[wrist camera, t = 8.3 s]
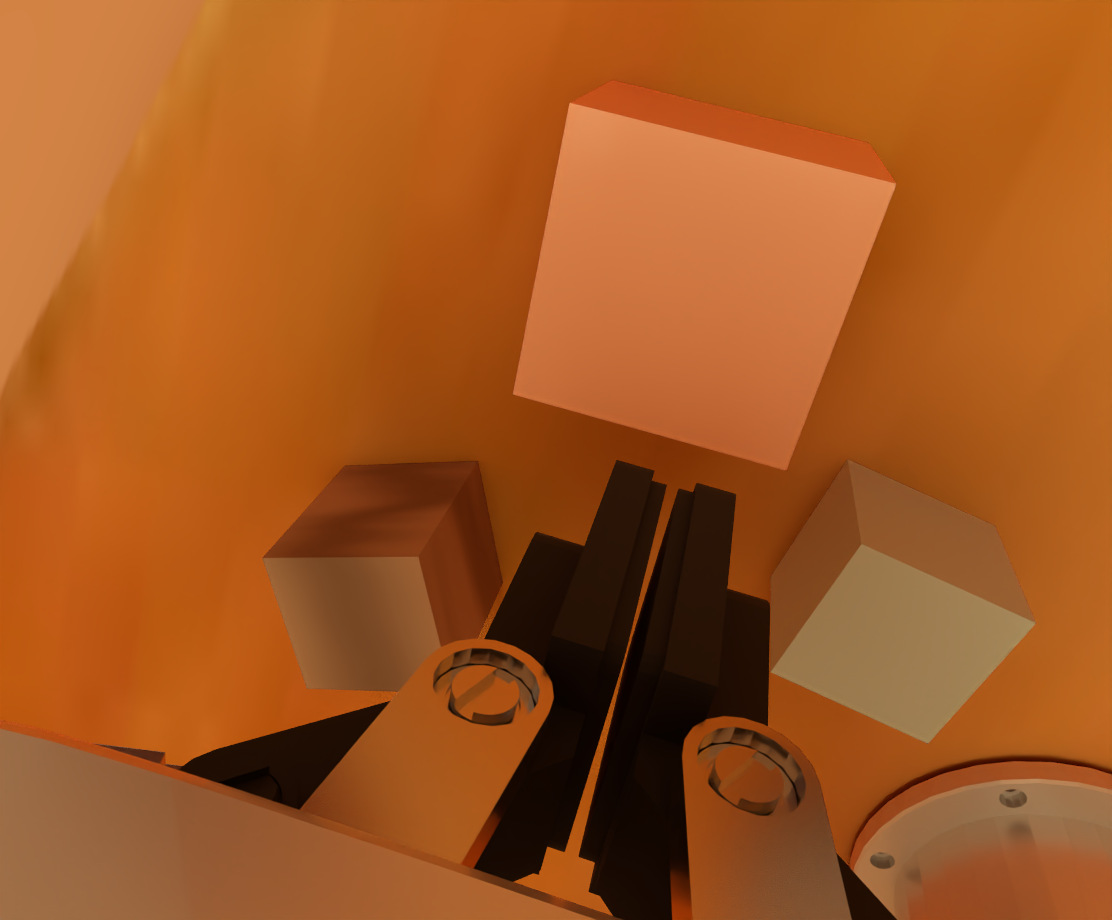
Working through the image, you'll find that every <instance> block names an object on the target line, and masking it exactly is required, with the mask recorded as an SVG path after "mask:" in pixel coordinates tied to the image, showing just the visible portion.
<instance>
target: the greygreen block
mask: <svg viewBox="0 0 1112 920" xmlns="http://www.w3.org/2000/svg"><path fill="white" fill-rule="evenodd" d="M1035 624H1036V622H1035V619H1034V617H1033V615H1032V612H1031V610H1030V608H1029V605H1028V603H1027V600H1026V598H1025V596H1024V593H1023V591H1022V589H1021V586H1020V584H1019V581H1018V579H1017V577H1016V574H1015V572H1014V570H1013V567H1012V565H1011V562H1010V560H1009V558H1008V555H1007V553H1006V551H1005V548H1004V546H1003V543H1002V541H1001V539H1000V536H999V534H998V532H997V529H996V527H995V526H994V525H992V524H990V523H988V522H985V521H983V520H981V519H979V518H977V517H974V516H972V515H970V514H968V513H966V512H963V511H961V510H959V509H957V508H955V507H952V506H950V505H948V504H946V503H944V502H941V501H939V500H937V499H935V498H933V497H930V496H928V495H926V494H924V493H921V492H919V491H917V490H915V489H913V488H910V487H908V486H906V485H904V484H902V483H899V482H897V481H895V480H893V479H891V478H888V477H886V476H884V475H882V474H880V473H877V472H875V471H873V470H871V469H868V468H866V467H864V466H862V465H860V464H857V463H855V462H853V461H851V460H849V459H847V461H846V462H845V464H844V465H843V467H842V469H841V470H840V472H839V473H838V475H837V476H836V478H835V479H834V481H833V482H832V484H831V485H830V487H829V488H828V490H827V491H826V493H825V494H824V496H823V497H822V499H821V500H820V502H819V503H818V505H817V507H816V508H815V510H814V511H813V513H812V514H811V516H810V517H809V519H808V520H807V522H806V523H805V525H804V526H803V528H802V529H801V531H800V532H799V534H798V535H797V537H796V538H795V540H794V541H793V543H792V545H791V546H790V548H789V549H788V551H787V552H786V554H785V555H784V557H783V558H782V560H781V561H780V563H779V564H778V566H777V567H776V569H775V570H774V572H773V573H772V575H771V673H773V674H776V675H778V676H780V677H782V678H784V679H787V680H789V681H791V682H793V683H795V684H798V685H800V686H802V687H804V688H806V689H809V690H811V691H813V692H815V693H817V694H820V695H822V696H824V697H826V698H828V699H831V700H833V701H835V702H837V703H839V704H842V705H844V706H846V707H848V708H850V709H853V710H855V711H857V712H859V713H861V714H864V715H866V716H868V717H870V718H872V719H875V720H877V721H879V722H881V723H883V724H886V725H888V726H890V727H892V728H894V729H897V730H899V731H901V732H903V733H905V734H908V735H910V736H912V737H914V738H916V739H919V740H921V741H923V742H925V743H927V744H928V743H929V742H930V741H931V740H932V739H933V738H934V737H935V735H936V734H937V733H938V732H939V731H940V730H941V729H942V728H943V727H944V725H945V724H946V723H947V722H948V721H949V720H950V719H951V718H952V716H953V715H954V714H955V713H956V712H957V711H958V710H959V709H960V708H961V706H962V705H963V704H964V703H965V702H966V701H967V700H968V699H969V698H970V696H971V695H972V694H973V693H974V692H975V691H976V690H977V689H978V687H979V686H980V685H981V684H982V683H983V682H984V681H985V680H986V679H987V677H988V676H989V675H990V674H991V673H992V672H993V671H994V670H995V668H996V667H997V666H998V665H999V664H1000V663H1001V662H1002V661H1003V660H1004V658H1005V657H1006V656H1007V655H1008V654H1009V653H1010V652H1011V651H1012V650H1013V648H1014V647H1015V646H1016V645H1017V644H1018V643H1019V642H1020V641H1021V639H1022V638H1023V637H1024V636H1025V635H1026V634H1027V633H1028V632H1029V631H1030V629H1031V628H1032V627H1033V626H1034V625H1035Z"/></svg>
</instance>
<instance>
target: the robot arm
mask: <svg viewBox="0 0 1112 920" xmlns="http://www.w3.org/2000/svg"><path fill="white" fill-rule="evenodd" d="M653 474H654V471H653V470H650V469H646V468H643V467H639V466H636V465H632V464H629V463H626V462H622V461H619V460H616V463H615V465H614V468H613V471H612V474H611V476H610V479H609V482H608V484H607V487H606V490H605V492H604V495H603V498H602V500H601V503H600V506H599V508H598V511H597V514H596V517H595V519H594V522H593V525H592V527H591V530H590V533H589V535H588V538H587V541H586V543H585V546H582V545H579V544H576V543H572V542H569V541H565V540H562V539H559V538H555V537H552V536H549V535H545V534H542V533H539V532H537V533H535V535H534V537H533V538H532V540H531V542H530V544H529V547H528V549H527V551H526V553H525V555H524V557H523V559H522V561H521V563H520V565H519V567H518V570H517V572H516V574H515V576H514V578H513V580H512V582H511V584H510V586H509V588H508V591H507V593H506V595H505V597H504V599H503V601H502V603H501V605H500V607H499V609H498V611H497V614H496V616H495V618H494V620H493V622H492V624H491V626H490V628H489V630H488V632H487V634H486V637H485V639H467V640H460V641H455V642H452V643H450V644H447V645H445V646H442V647H440V648H438V649H437V650H436V651H435V652H433V653H432V654H431V655H430V656H429V657H427V658H426V659H425V661H424V662H423V663H422V664H421V665H420V667H419V668H418V669H417V670H416V671H415V673H414V674H413V675H412V676H411V677H410V678H409V680H408V681H407V682H406V683H405V684H404V686H403V687H402V688H401V689H400V690H399V692H398V693H397V694H396V695H395V696H394V698H393V699H392V700H391V701H388V702H385V703H381V704H378V705H374V706H370V707H367V708H363V709H360V710H356V711H352V712H349V713H345V714H342V715H338V716H334V717H331V718H327V719H324V720H320V721H316V722H313V723H309V724H306V725H302V726H298V727H295V728H291V729H288V730H284V731H281V732H277V733H273V734H270V735H266V736H263V737H259V738H255V739H252V740H248V741H245V742H241V743H237V744H234V745H230V746H227V747H223V748H219V749H216V750H213V751H211V752H209V753H206V754H204V755H201V756H199V757H196V758H194V759H192V760H191V761H189V762H188V763H187V764H185V765H184V766H178V765H169V764H165V752H158V751H150V750H142V749H134V748H126V747H118V746H110V745H101V744H93V743H89V742H85V741H82V740H78V739H75V738H71V737H68V736H64V735H61V734H57V733H54V732H50V731H47V730H43V729H40V728H36V727H32V726H27V725H22V724H17V723H12V722H7V721H2V720H0V920H1112V774H1109V773H1105V772H1102V771H1099V770H1095V769H1092V768H1087V767H1081V766H1074V765H1068V764H1061V763H1055V762H1025V761H1011V762H1002V763H992V764H983V765H976V766H972V767H968V768H964V769H960V770H956V771H952V772H948V773H944V774H941V775H938V776H936V777H934V778H931V779H929V780H926V781H924V782H922V783H919V784H917V785H914V786H912V787H911V788H909V789H908V790H906V791H904V792H903V793H901V794H900V795H898V796H896V797H895V798H893V799H892V800H890V801H888V802H887V803H886V804H885V805H884V806H883V807H882V808H881V809H880V810H879V811H878V812H877V813H876V814H875V815H874V816H873V817H872V818H871V819H870V820H869V821H868V822H867V824H866V826H865V827H864V829H863V830H862V832H861V833H860V835H859V836H858V838H857V839H856V843H855V846H854V849H853V852H852V855H851V858H850V867H849V866H848V865H847V864H846V863H845V862H844V861H843V860H842V859H841V858H840V856H839V855H838V854H837V853H836V850H835V846H834V842H833V837H832V833H831V829H830V824H829V820H828V816H827V812H826V807H825V803H824V799H823V794H822V790H821V786H820V782H819V780H818V777H817V775H816V773H815V770H814V768H813V766H812V764H811V763H810V762H809V760H808V759H807V758H806V756H805V755H804V754H803V753H802V751H801V750H800V749H799V748H798V747H797V746H795V745H794V744H793V743H792V742H791V741H790V740H788V739H787V738H786V737H785V736H784V735H782V734H780V733H778V732H777V731H775V730H773V729H771V728H769V727H768V690H769V637H770V604H769V602H768V601H767V600H763V599H760V598H757V597H753V596H750V595H747V594H743V593H740V592H737V591H733V590H730V589H727V585H728V575H729V564H730V554H731V543H732V533H733V522H734V511H735V501H736V494H734V493H730V492H727V491H723V490H720V489H716V488H713V487H709V486H706V485H702V484H699V483H697V484H696V486H695V488H694V491H693V492H689V491H686V490H682V489H679V490H678V492H677V495H676V498H675V502H674V505H673V508H672V511H671V514H670V518H669V521H668V524H667V527H666V531H665V534H664V537H663V540H662V544H661V547H660V550H659V553H658V556H657V560H656V563H655V566H654V569H653V573H652V576H651V579H650V582H649V586H648V589H647V592H646V595H645V598H644V602H643V605H642V608H641V611H640V615H639V618H638V621H637V624H636V627H635V631H634V634H633V637H632V641H631V644H630V647H629V651H628V654H627V658H626V662H625V666H624V670H623V674H622V678H621V683H620V687H619V691H618V695H617V699H616V703H615V707H614V711H613V716H612V720H611V724H610V728H609V732H608V736H607V740H606V745H605V749H604V753H603V757H602V761H601V765H600V769H599V774H598V778H597V782H596V786H595V790H594V794H593V798H592V802H591V807H590V811H589V815H588V819H587V823H586V827H585V831H584V836H583V840H582V844H581V848H580V852H579V857H581V858H584V859H587V860H590V861H593V862H595V865H594V870H593V874H592V879H591V883H590V888H589V892H591V893H593V894H596V895H599V896H600V897H601V898H602V900H603V901H604V903H605V904H606V906H607V907H608V909H609V910H610V912H611V913H612V915H613V916H611V915H608V914H605V913H602V912H599V911H596V910H593V909H590V908H587V907H584V906H582V905H579V904H576V903H573V902H570V901H567V900H564V899H561V898H558V897H555V896H552V895H549V894H546V893H543V892H541V891H538V890H535V889H532V888H529V887H526V886H523V885H520V884H517V883H514V881H516V880H519V879H521V878H523V877H526V876H528V875H530V874H532V873H535V874H538V875H539V871H540V870H541V866H542V863H543V859H544V856H545V853H546V849H547V846H548V847H551V848H554V849H557V850H560V851H563V852H565V849H566V846H567V843H568V839H569V836H570V833H571V830H572V827H573V823H574V820H575V817H576V814H577V810H578V807H579V804H580V801H581V797H582V794H583V791H584V788H585V784H586V781H587V778H588V775H589V771H590V768H591V765H592V762H593V758H594V755H595V752H596V749H597V746H598V742H599V739H600V736H601V733H602V729H603V726H604V723H605V720H606V716H607V713H608V710H609V707H610V703H611V700H612V697H613V694H614V690H615V687H616V684H617V681H618V677H619V674H620V670H621V667H622V663H623V660H624V656H625V653H626V649H627V645H628V641H629V637H630V633H631V629H632V625H633V621H634V617H635V613H636V609H637V605H638V600H639V596H640V592H641V588H642V584H643V580H644V576H645V572H646V568H647V564H648V560H649V556H650V551H651V547H652V543H653V539H654V535H655V531H656V527H657V523H658V519H659V515H660V511H661V507H662V502H663V498H664V494H665V490H666V486H667V485H665V484H661V483H658V482H654V481H652V478H653Z"/></svg>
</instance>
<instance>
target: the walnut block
mask: <svg viewBox="0 0 1112 920" xmlns="http://www.w3.org/2000/svg"><path fill="white" fill-rule="evenodd" d="M263 561H264V564H265V567H266V570H267V573H268V576H269V579H270V582H271V585H272V587H273V590H274V593H275V596H276V599H277V602H278V605H279V608H280V611H281V614H282V617H283V620H284V623H285V626H286V628H287V631H288V634H289V637H290V640H291V643H292V646H293V649H294V652H295V655H296V658H297V661H298V664H299V667H300V669H301V672H302V675H303V678H304V681H305V684H306V687H307V689H335V690H365V691H395V692H399V690H400V689H401V688H402V687H403V686H404V684H405V683H406V682H407V681H408V680H409V678H410V677H411V676H412V675H413V674H414V673H415V671H416V670H417V669H418V668H419V667H420V665H421V664H422V663H423V662H424V661H425V659H426V658H427V657H429V656H430V655H431V654H432V653H433V652H435V651H436V650H437V649H438V648H440V647H442V646H445V645H447V644H450V643H452V642H455V641H460V640H467V639H477V638H478V636H479V634H480V632H481V629H482V627H483V625H484V623H485V621H486V618H487V616H488V614H489V612H490V609H491V607H492V605H493V603H494V601H495V598H496V596H497V594H498V592H499V590H500V587H501V585H502V583H503V582H502V577H501V572H500V567H499V562H498V557H497V552H496V547H495V542H494V538H493V533H492V528H491V523H490V518H489V513H488V508H487V503H486V498H485V493H484V488H483V484H482V479H481V474H480V469H479V464H478V461H463V462H435V463H407V464H378V465H350V466H344V468H343V469H342V470H341V471H340V472H339V473H338V474H337V475H336V476H335V478H334V479H333V480H332V481H331V482H330V483H329V484H328V485H327V487H326V488H325V489H324V490H323V491H322V492H321V493H320V494H319V495H318V497H317V498H316V499H315V500H314V501H313V502H312V503H311V504H310V506H309V507H308V508H307V509H306V510H305V511H304V512H303V513H302V514H301V516H300V517H299V518H298V519H297V520H296V521H295V522H294V523H293V524H292V526H291V527H290V528H289V529H288V530H287V531H286V532H285V533H284V535H283V536H282V537H281V538H280V539H279V540H278V541H277V542H276V543H275V545H274V546H273V547H272V548H271V549H270V550H269V551H268V552H267V553H266V555H265V556H264V557H263Z"/></svg>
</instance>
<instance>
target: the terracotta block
mask: <svg viewBox="0 0 1112 920" xmlns="http://www.w3.org/2000/svg"><path fill="white" fill-rule="evenodd" d="M895 186H896V182H895V181H894V179H893V178H892V176H891V175H890V174H889V172H888V171H887V169H886V168H885V166H884V165H883V163H882V162H881V160H880V159H879V157H878V156H877V154H876V153H875V151H874V150H873V148H872V147H871V145H870V144H869V143H868V142H864V141H860V140H856V139H852V138H847V137H843V136H839V135H835V134H831V133H827V132H823V131H819V130H815V129H811V128H807V127H802V126H798V125H794V124H790V123H786V122H782V121H778V120H774V119H770V118H766V117H762V116H757V115H753V114H749V113H745V112H741V111H737V110H733V109H729V108H725V107H721V106H717V105H713V104H708V103H704V102H700V101H696V100H692V99H688V98H684V97H680V96H676V95H672V94H668V93H663V92H659V91H655V90H651V89H647V88H643V87H639V86H635V85H631V84H627V83H623V82H618V81H614V80H611V81H609V82H607V83H606V84H604V85H602V86H600V87H598V88H596V89H594V90H593V91H591V92H589V93H587V94H585V95H583V96H582V97H580V98H578V99H576V100H574V101H572V102H570V104H569V109H568V114H567V119H566V124H565V130H564V135H563V140H562V145H561V150H560V155H559V160H558V165H557V170H556V176H555V181H554V186H553V191H552V196H551V201H550V206H549V211H548V217H547V222H546V227H545V232H544V237H543V242H542V247H541V252H540V257H539V263H538V268H537V273H536V278H535V283H534V288H533V293H532V298H531V303H530V309H529V314H528V319H527V324H526V329H525V334H524V339H523V344H522V349H521V355H520V360H519V365H518V370H517V375H516V380H515V385H514V390H513V395H517V396H520V397H524V398H527V399H531V400H534V401H538V402H542V403H545V404H549V405H552V406H556V407H560V408H563V409H567V410H570V411H574V412H577V413H581V414H585V415H588V416H592V417H595V418H599V419H603V420H606V421H610V422H613V423H617V424H620V425H624V426H628V427H631V428H635V429H638V430H642V431H645V432H649V433H653V434H656V435H660V436H663V437H667V438H671V439H674V440H678V441H681V442H685V443H688V444H692V445H696V446H699V447H703V448H706V449H710V450H714V451H717V452H721V453H724V454H728V455H731V456H735V457H739V458H742V459H746V460H749V461H753V462H756V463H760V464H764V465H767V466H771V467H774V468H778V469H782V470H785V471H786V470H787V467H788V465H789V462H790V459H791V457H792V454H793V452H794V449H795V446H796V444H797V441H798V439H799V436H800V433H801V431H802V428H803V426H804V423H805V420H806V418H807V415H808V413H809V410H810V407H811V405H812V402H813V400H814V397H815V394H816V392H817V389H818V387H819V384H820V381H821V379H822V376H823V374H824V371H825V368H826V366H827V363H828V361H829V358H830V355H831V353H832V350H833V348H834V345H835V342H836V340H837V337H838V335H839V332H840V329H841V327H842V324H843V321H844V319H845V316H846V314H847V311H848V308H849V306H850V303H851V301H852V298H853V295H854V293H855V290H856V288H857V285H858V282H859V280H860V277H861V275H862V272H863V269H864V267H865V264H866V262H867V259H868V256H869V254H870V251H871V249H872V246H873V243H874V241H875V238H876V236H877V233H878V230H879V228H880V225H881V223H882V220H883V217H884V215H885V212H886V210H887V207H888V204H889V202H890V199H891V197H892V194H893V191H894V189H895Z"/></svg>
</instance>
